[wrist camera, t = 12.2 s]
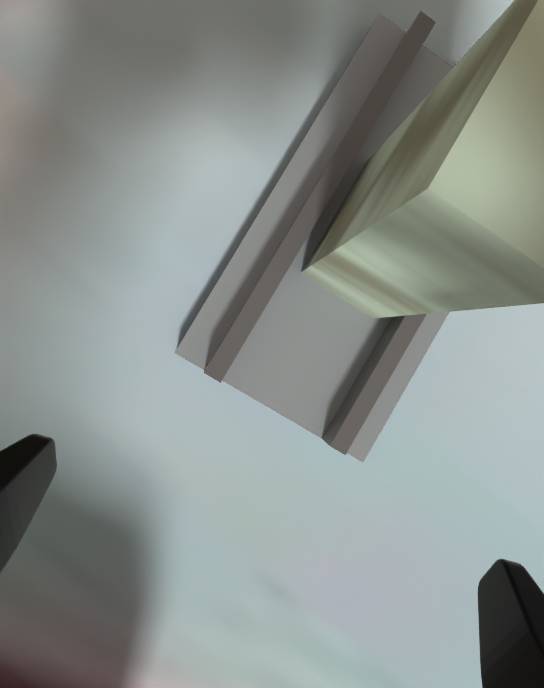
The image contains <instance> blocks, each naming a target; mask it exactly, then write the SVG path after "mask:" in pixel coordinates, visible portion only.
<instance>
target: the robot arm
mask: <svg viewBox="0 0 544 688" xmlns="http://www.w3.org/2000/svg"><path fill="white" fill-rule="evenodd" d="M56 467H57V463H56V451H55V442H54V440H53V439H52V438H50V437H46V436H42V435H39V434H31V435H29V436H27V437H25V438H23V439H21V440H19V441H18V442H16V443H14V444H12V445H10V446H9V447H7V448H5V449H3V450H1V451H0V573H1V571H2V569H3V568H4V566H5V565H6V563H7V562H8V560H9V559H10V557H11V556H12V554H13V552H14V551H15V549H16V548H17V546H18V544H19V542H20V540H21V539H22V537H23V535H24V533H25V531H26V529H27V527H28V525H29V523H30V521H31V520H32V518H33V516H34V514H35V512H36V510H37V508H38V506H39V504H40V502H41V500H42V498H43V496H44V495H45V493H46V491H47V489H48V487H49V485H50V483H51V481H52V479H53V477H54V475H55V472H56ZM478 613H479V640H480V664H481V677H482V686H483V688H544V593H543V592H542V591H541V589H540V588H539V587H538V585H537V584H536V582H535V581H534V580H533V578H532V577H531V576H530V574H529V573H528V572H527V570H526V569H525V568H524V567H523V566H522V565H521V564H519V563H516V562H512V561H509V560H505V559H499V560H497V561H496V562H495V563H494V564H493V565H492V566H491V568H490V569H489V570H488V571H487V572H486V574H485V575H484V576H483V577H482V578H481V580H480V582H479V586H478Z"/></svg>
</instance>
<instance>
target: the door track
mask: <svg viewBox="0 0 544 688" xmlns="http://www.w3.org/2000/svg"><path fill="white" fill-rule="evenodd" d="M434 24H435V21H433V20H432V19H431V18H429V17H428V16H427V15H425V14H424V13H422V12H421V11H420V13H419V14H418V16H417V17H416V19H415V20H414V22H413V23H412V25H411V26H410V28H409V30H408V31H407V33H405V32H404V31H402V30H401V29H400V28H398V27H397V26H396V25H394V24H393V23H392V22H390V21H389V20H387V19H386V18H385V17H383V16H382V15H381V14H379V15H378V17H377V18H376V20H375V22H374V23H373V25H372V27H371V28H370V30H369V32H368V33H367V35H366V37H365V38H364V40H363V42H362V43H361V45H360V47H359V48H358V50H357V51H356V53H355V55H354V56H353V58H352V60H351V61H350V63H349V65H348V66H347V68H346V70H345V71H344V73H343V75H342V76H341V78H340V80H339V81H338V83H337V85H336V86H335V88H334V90H333V91H332V93H331V95H330V96H329V98H328V99H327V101H326V103H325V104H324V106H323V108H322V109H321V111H320V113H319V114H318V116H317V118H316V119H315V121H314V123H313V124H312V126H311V128H310V129H309V131H308V133H307V134H306V136H305V138H304V139H303V141H302V143H301V144H300V146H299V147H298V149H297V151H296V152H295V154H294V156H293V157H292V159H291V161H290V162H289V164H288V166H287V167H286V169H285V171H284V172H283V174H282V176H281V177H280V179H279V181H278V182H277V184H276V186H275V187H274V189H273V191H272V192H271V194H270V196H269V197H268V199H267V200H266V202H265V204H264V205H263V207H262V209H261V210H260V212H259V214H258V215H257V217H256V219H255V220H254V222H253V224H252V225H251V227H250V229H249V230H248V232H247V234H246V235H245V237H244V239H243V240H242V242H241V244H240V245H239V247H238V248H237V250H236V252H235V253H234V255H233V257H232V258H231V260H230V262H229V263H228V265H227V267H226V268H225V270H224V272H223V273H222V275H221V277H220V278H219V280H218V282H217V283H216V285H215V287H214V288H213V290H212V292H211V293H210V295H209V296H208V298H207V300H206V301H205V303H204V305H203V306H202V308H201V310H200V311H199V313H198V315H197V316H196V318H195V320H194V321H193V323H192V325H191V326H190V328H189V330H188V331H187V333H186V335H185V336H184V338H183V340H182V341H181V343H180V344H179V346H178V348H177V349H176V351H175V353H176V354H178V355H179V356H181V357H183V358H185V359H186V360H188V361H190V362H191V363H193V364H195V365H197V366H198V367H200V368H202V369H203V370H204V373H205V374H207V375H209V376H210V377H212V378H214V379H215V380H217V381H219V382H221V381H224V382H226V383H228V384H229V385H231V386H233V387H234V388H236V389H238V390H240V391H241V392H243V393H245V394H247V395H248V396H250V397H252V398H253V399H255V400H257V401H259V402H260V403H262V404H264V405H265V406H267V407H269V408H271V409H272V410H274V411H276V412H277V413H279V414H281V415H283V416H284V417H286V418H288V419H290V420H291V421H293V422H295V423H296V424H298V425H300V426H302V427H303V428H305V429H307V430H308V431H310V432H312V433H314V434H315V435H317V436H319V437H321V438H322V439H323V440H324V441H325V442H326V443H327V444H328V445H330V446H331V447H333V448H334V449H336V450H338V451H340V452H341V453H343V454H345V455H346V453H348V454H350V455H351V456H353V457H355V458H357V459H358V460H360V461H362V462H364V460H365V458H366V456H367V455H368V453H369V451H370V449H371V448H372V446H373V444H374V442H375V441H376V439H377V437H378V435H379V434H380V432H381V430H382V428H383V427H384V425H385V423H386V421H387V420H388V418H389V416H390V415H391V413H392V411H393V409H394V408H395V406H396V404H397V402H398V401H399V399H400V397H401V395H402V394H403V392H404V390H405V388H406V387H407V385H408V383H409V381H410V380H411V378H412V376H413V374H414V373H415V371H416V369H417V368H418V366H419V364H420V362H421V361H422V359H423V357H424V355H425V354H426V352H427V350H428V348H429V347H430V345H431V343H432V341H433V340H434V338H435V336H436V334H437V333H438V331H439V329H440V327H441V326H442V324H443V322H444V320H445V319H446V317H447V315H448V314H449V312H439V313H428V314H417V315H406V316H395V317H383V318H372V317H371V316H369V315H368V314H366V313H364V312H363V311H361V310H360V309H358V308H356V307H355V306H353V305H352V304H350V303H349V302H347V301H345V300H344V299H342V298H341V297H339V296H337V295H336V294H334V293H333V292H331V291H329V290H328V289H326V288H325V287H323V286H322V285H320V284H318V283H317V282H315V281H314V280H312V279H310V278H309V277H307V276H306V275H304V274H302V273H301V272H302V270H303V268H304V266H305V265H306V263H307V261H308V260H309V258H310V256H311V255H312V253H313V251H314V250H315V248H316V246H317V245H318V243H319V241H320V240H321V238H322V236H323V235H324V233H325V231H326V230H327V228H328V226H329V224H330V223H331V221H332V219H333V218H334V216H335V214H336V213H337V211H338V209H339V208H340V206H341V204H342V203H343V201H344V199H345V198H346V196H347V194H348V193H349V191H350V189H351V188H352V186H353V184H354V182H355V181H356V179H357V177H358V176H359V174H360V172H361V171H362V169H363V167H364V166H365V164H366V162H367V161H368V160H369V159H370V158H371V156H372V155H373V154H374V153H375V152H376V151H377V150H378V149H379V148H380V147H381V146H382V144H383V143H384V142H385V141H386V140H387V139H388V138H389V137H390V136H391V135H392V134H393V132H394V131H395V130H396V129H397V128H398V127H399V126H400V125H401V124H402V123H403V122H404V120H405V119H406V118H407V117H408V116H409V115H410V114H411V113H412V112H413V111H414V110H415V109H416V107H417V106H418V105H419V104H420V103H421V102H422V101H423V100H424V99H425V98H426V97H427V95H428V94H429V93H430V92H431V91H432V90H433V89H434V88H435V87H436V86H437V85H438V83H439V82H440V81H441V80H442V79H443V78H444V77H445V76H446V75H447V74H448V73H449V71H450V70H451V69H452V68H453V67H452V66H451V65H449V64H448V63H446V62H445V61H444V60H442V59H441V58H440V57H438V56H437V55H435V54H434V53H433V52H431V51H430V50H429V49H427V48H426V47H424V46H423V45H422V44H423V43H424V41H425V39H426V38H427V36H428V34H429V33H430V31H431V29H432V28H433V26H434Z"/></svg>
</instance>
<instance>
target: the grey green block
mask: <svg viewBox="0 0 544 688" xmlns="http://www.w3.org/2000/svg"><path fill="white" fill-rule="evenodd" d="M301 273H302V274H304V275H306V276H307V277H309V278H310V279H312V280H314V281H315V282H317V283H318V284H320V285H322V286H323V287H325V288H326V289H328V290H329V291H331V292H333V293H334V294H336V295H337V296H339V297H341V298H342V299H344V300H345V301H347V302H349V303H350V304H352V305H353V306H355V307H356V308H358V309H360V310H361V311H363V312H364V313H366V314H368V315H369V316H371V317H372V318H383V317H395V316H406V315H417V314H428V313H439V312H450V311H461V310H472V309H483V308H494V307H505V306H516V305H527V304H538V303H544V0H515V1H514V2H513V3H512V4H511V5H510V6H509V7H508V8H507V9H506V11H505V12H504V13H503V14H502V15H501V16H500V17H499V18H498V19H497V20H496V21H495V22H494V24H493V25H492V26H491V27H490V28H489V29H488V30H487V31H486V32H485V33H484V34H483V36H482V37H481V38H480V39H479V40H478V41H477V42H476V43H475V44H474V45H473V46H472V48H471V49H470V50H469V51H468V52H467V53H466V54H465V55H464V56H463V57H462V58H461V60H460V61H459V62H458V63H457V64H456V65H455V66H454V67H453V68H452V69H451V70H450V71H449V73H448V74H447V75H446V76H445V77H444V78H443V79H442V80H441V81H440V82H439V83H438V85H437V86H436V87H435V88H434V89H433V90H432V91H431V92H430V93H429V94H428V95H427V97H426V98H425V99H424V100H423V101H422V102H421V103H420V104H419V105H418V106H417V107H416V109H415V110H414V111H413V112H412V113H411V114H410V115H409V116H408V117H407V118H406V119H405V120H404V122H403V123H402V124H401V125H400V126H399V127H398V128H397V129H396V130H395V131H394V132H393V134H392V135H391V136H390V137H389V138H388V139H387V140H386V141H385V142H384V143H383V144H382V146H381V147H380V148H379V149H378V150H377V151H376V152H375V153H374V154H373V155H372V156H371V158H370V159H369V160H368V161H367V162H366V164H365V166H364V167H363V169H362V171H361V172H360V174H359V176H358V177H357V179H356V181H355V182H354V184H353V186H352V188H351V189H350V191H349V193H348V194H347V196H346V198H345V199H344V201H343V203H342V204H341V206H340V208H339V209H338V211H337V213H336V214H335V216H334V218H333V219H332V221H331V223H330V224H329V226H328V228H327V230H326V231H325V233H324V235H323V236H322V238H321V240H320V241H319V243H318V245H317V246H316V248H315V250H314V251H313V253H312V255H311V256H310V258H309V260H308V261H307V263H306V265H305V266H304V268H303V270H302V272H301Z"/></svg>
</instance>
